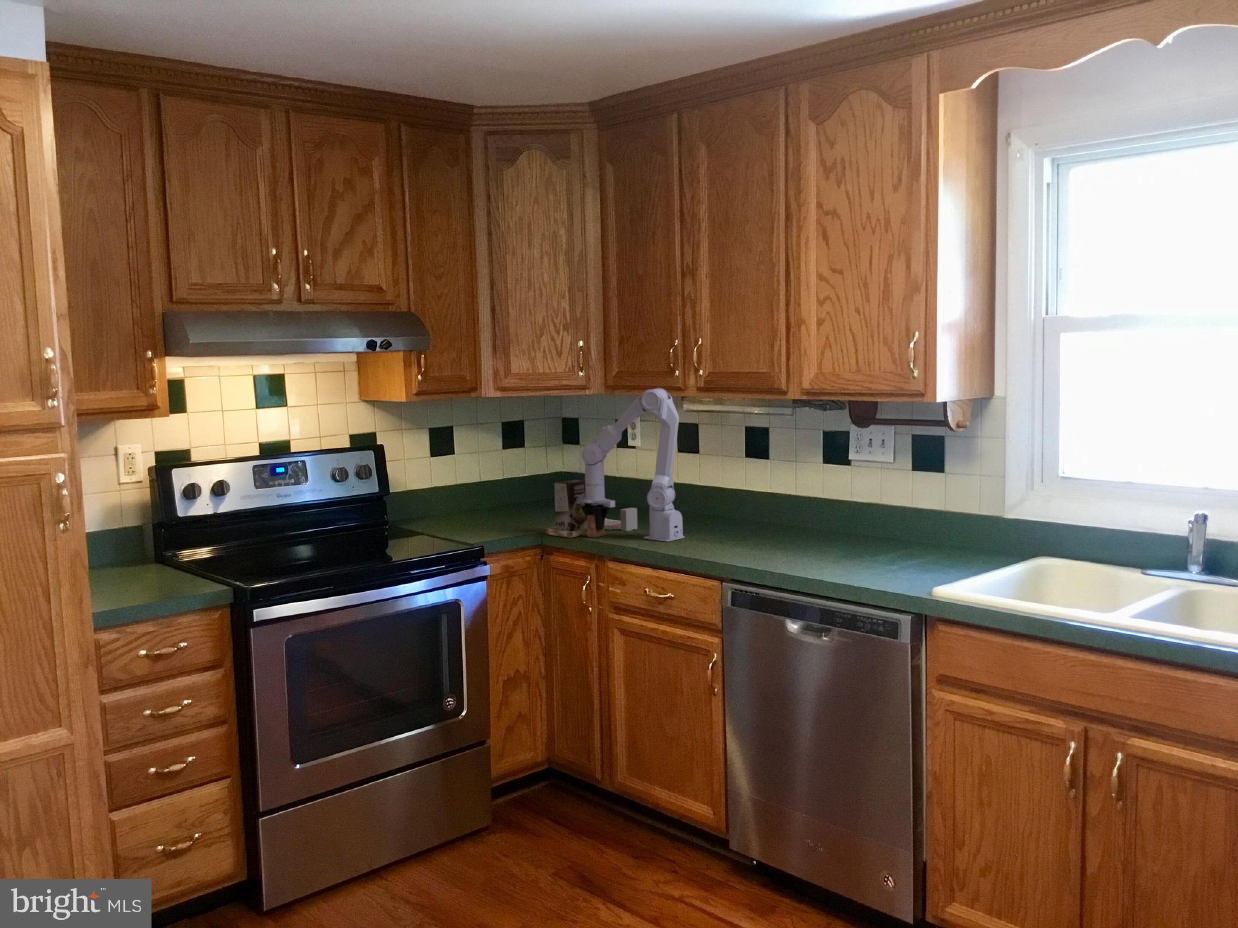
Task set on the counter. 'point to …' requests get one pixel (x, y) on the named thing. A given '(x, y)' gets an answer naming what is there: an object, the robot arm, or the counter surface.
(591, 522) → the carton sled
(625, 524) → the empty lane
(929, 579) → the counter surface
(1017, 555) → the counter surface
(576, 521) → the coffee box
